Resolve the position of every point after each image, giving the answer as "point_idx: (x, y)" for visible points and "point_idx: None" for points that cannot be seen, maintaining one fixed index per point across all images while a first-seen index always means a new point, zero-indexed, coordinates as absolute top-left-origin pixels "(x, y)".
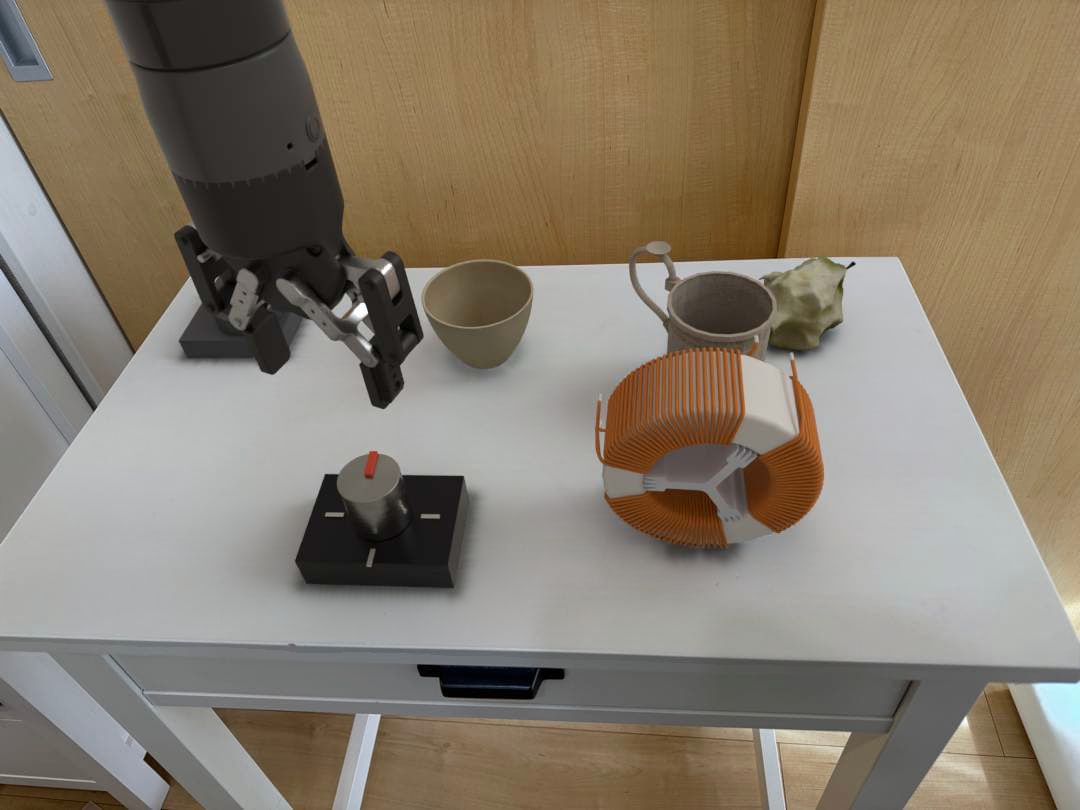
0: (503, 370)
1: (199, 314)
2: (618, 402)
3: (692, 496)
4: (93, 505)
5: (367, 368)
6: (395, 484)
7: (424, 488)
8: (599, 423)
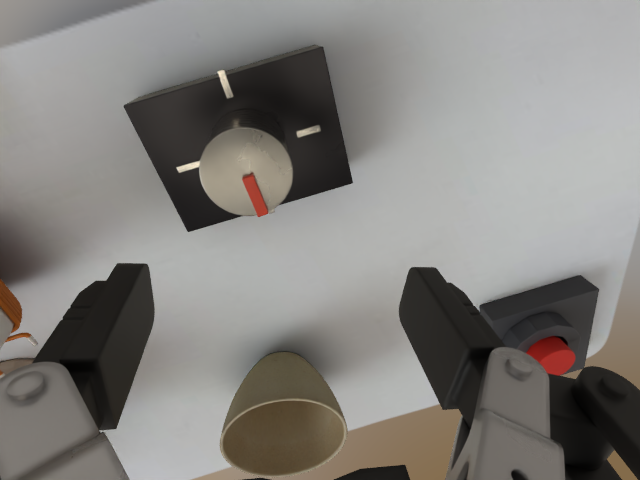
0: (252, 357)
1: (587, 322)
2: None
3: None
4: (618, 69)
5: (70, 353)
6: (200, 174)
7: None
8: (32, 341)
